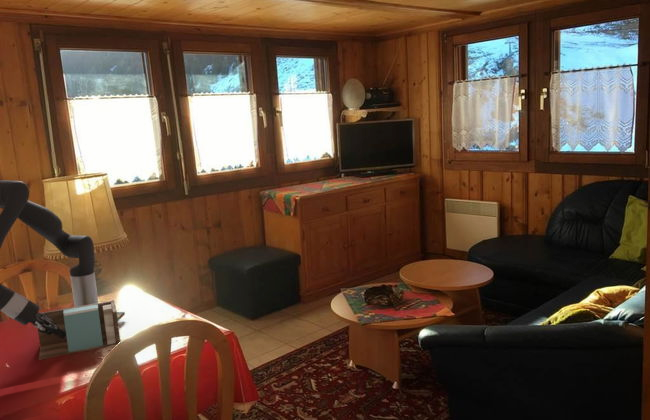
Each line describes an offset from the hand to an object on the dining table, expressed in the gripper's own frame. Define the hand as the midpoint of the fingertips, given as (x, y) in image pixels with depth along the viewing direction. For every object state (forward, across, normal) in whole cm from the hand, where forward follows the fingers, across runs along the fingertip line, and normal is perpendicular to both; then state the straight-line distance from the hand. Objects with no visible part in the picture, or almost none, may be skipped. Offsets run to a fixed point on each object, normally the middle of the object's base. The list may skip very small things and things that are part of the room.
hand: (64, 335), depth 191 cm
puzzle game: (+12, +23, -2) cm, 26 cm away
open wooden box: (+8, +3, +2) cm, 9 cm away
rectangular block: (+8, 0, -1) cm, 8 cm away
